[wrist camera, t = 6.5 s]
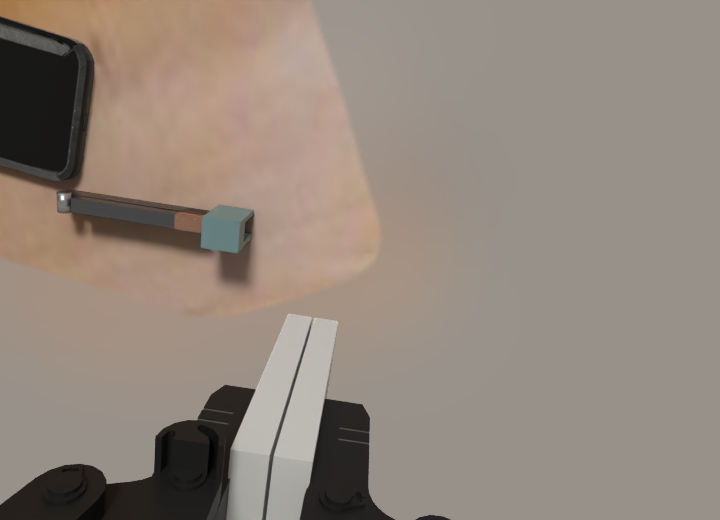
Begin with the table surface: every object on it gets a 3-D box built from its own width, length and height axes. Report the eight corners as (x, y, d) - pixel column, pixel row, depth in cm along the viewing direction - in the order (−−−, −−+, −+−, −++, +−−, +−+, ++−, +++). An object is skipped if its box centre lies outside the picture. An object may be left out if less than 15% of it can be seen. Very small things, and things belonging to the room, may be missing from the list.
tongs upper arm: (62, 209, 29) (54, 212, 28) (61, 190, 28) (53, 192, 28) (206, 232, 29) (202, 235, 28) (208, 213, 28) (203, 216, 28)
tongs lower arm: (70, 202, 30) (60, 206, 29) (69, 189, 30) (59, 192, 29) (213, 224, 30) (208, 228, 29) (214, 211, 30) (209, 215, 29)
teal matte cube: (217, 233, 30) (200, 247, 27) (219, 205, 29) (202, 216, 26) (250, 238, 30) (237, 253, 27) (253, 210, 29) (240, 222, 27)
